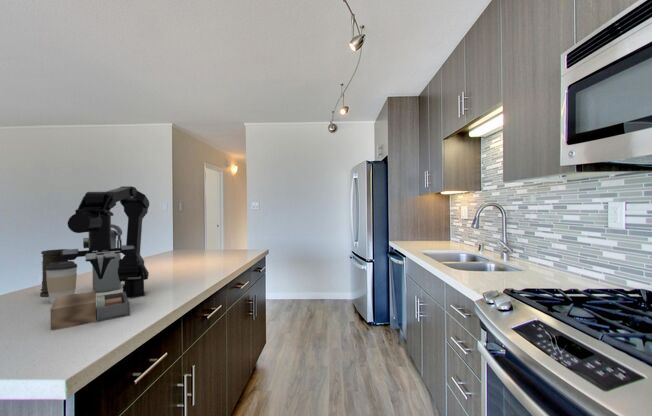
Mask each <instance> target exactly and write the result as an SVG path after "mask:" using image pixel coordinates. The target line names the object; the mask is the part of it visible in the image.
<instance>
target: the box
mask: <svg viewBox="0 0 652 416" xmlns="http://www.w3.org/2000/svg"><path fill="white" fill-rule="evenodd" d="M98 296H99V295H96V298H97V297H98ZM100 296H105V300H107V299H113V298H119V297H121V299H122V304H117V305H111V306H105V307H100V308H97V307H96V323H98V322H104V321H109V320H113V319H114V320H115V319H118V318H119V319H120V318H124V317H128V316H130V314H131V313H130V301H129V298H127V295H126V292H123V291H121V292H116V293H109V294H102V295H100Z"/></svg>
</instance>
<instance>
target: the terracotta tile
mask: <svg viewBox="0 0 652 416" xmlns="http://www.w3.org/2000/svg"><path fill="white" fill-rule="evenodd" d="M117 304H122V299H121V297H119V298H113V299H107V300H105V306H111V305H117Z"/></svg>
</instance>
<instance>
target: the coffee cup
mask: <svg viewBox="0 0 652 416" xmlns="http://www.w3.org/2000/svg"><path fill="white" fill-rule="evenodd" d="M77 268H78V263H75V260H68V261H62V262H54V263H50V264H49V266H47V267H46V269H45V270H46V274H47V276H46V280H47V288H48V293H49V297H48V300H49V304H50V305H53V303H54V301H55V299H56V297H58V296H65V295H71V294H76V286H77V276H78V273H77V270H78V269H77Z"/></svg>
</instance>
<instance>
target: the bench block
mask: <svg viewBox="0 0 652 416" xmlns="http://www.w3.org/2000/svg"><path fill="white" fill-rule="evenodd" d="M49 310H50V331H51V330H52V331H56V330H61V329H66V328H71V327H77V326H80V325H85V324H90V323H97V292H96V291H93V290H92V291H86V292H85V291H84V292H80V293H79V292H78V293H75V294H71V295H65V296H58V297H56V299H55V301H54V303H53V304H51V308H50V309H49Z"/></svg>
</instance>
